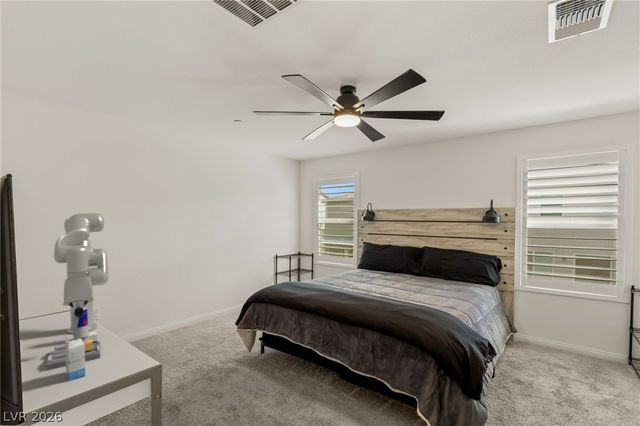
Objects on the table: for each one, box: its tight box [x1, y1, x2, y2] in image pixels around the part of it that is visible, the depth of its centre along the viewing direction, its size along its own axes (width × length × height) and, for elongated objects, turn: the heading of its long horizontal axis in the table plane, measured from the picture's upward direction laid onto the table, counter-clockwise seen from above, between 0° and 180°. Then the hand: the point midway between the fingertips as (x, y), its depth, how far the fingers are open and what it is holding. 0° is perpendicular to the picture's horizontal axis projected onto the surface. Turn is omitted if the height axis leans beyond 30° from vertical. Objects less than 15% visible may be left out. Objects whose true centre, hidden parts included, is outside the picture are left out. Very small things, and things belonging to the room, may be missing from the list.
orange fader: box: [83, 339, 92, 352], centre depth 134 cm, size 4×3×4 cm, turn 35°
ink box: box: [64, 334, 86, 381], centre depth 119 cm, size 9×5×15 cm, turn 45°
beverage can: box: [72, 307, 89, 342], centre depth 152 cm, size 6×6×15 cm
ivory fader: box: [88, 330, 98, 343], centre depth 143 cm, size 4×3×4 cm, turn 35°
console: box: [45, 337, 101, 371], centre depth 135 cm, size 20×17×3 cm
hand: (79, 316), depth 140 cm, fingers closed
